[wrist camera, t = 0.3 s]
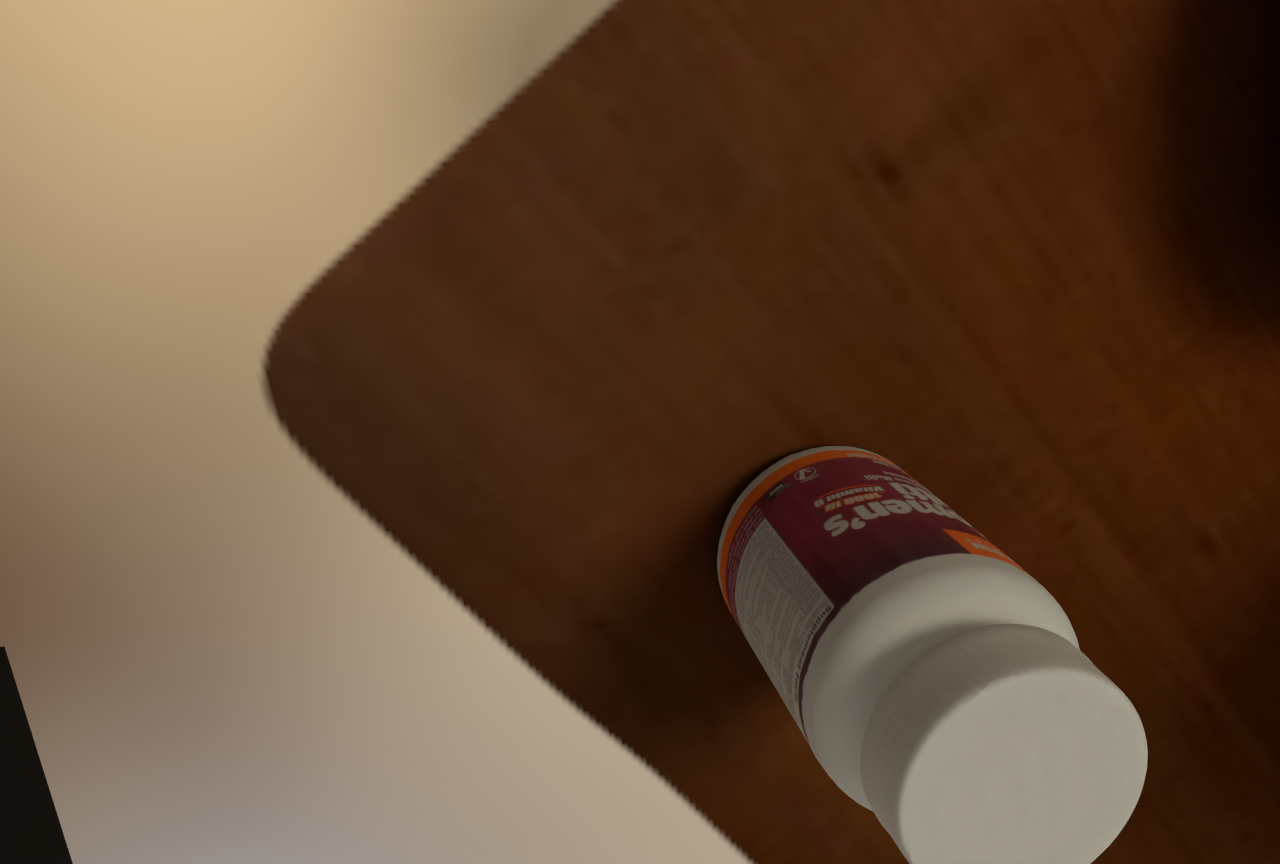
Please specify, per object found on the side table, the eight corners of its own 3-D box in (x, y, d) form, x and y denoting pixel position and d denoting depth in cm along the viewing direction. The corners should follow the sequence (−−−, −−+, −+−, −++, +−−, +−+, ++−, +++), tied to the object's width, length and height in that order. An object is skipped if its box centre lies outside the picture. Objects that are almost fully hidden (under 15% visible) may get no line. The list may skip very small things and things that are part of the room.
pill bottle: (937, 441, 31) (1212, 636, 21) (902, 641, 33) (1140, 914, 23) (722, 437, 30) (900, 644, 19) (699, 646, 32) (850, 938, 21)
